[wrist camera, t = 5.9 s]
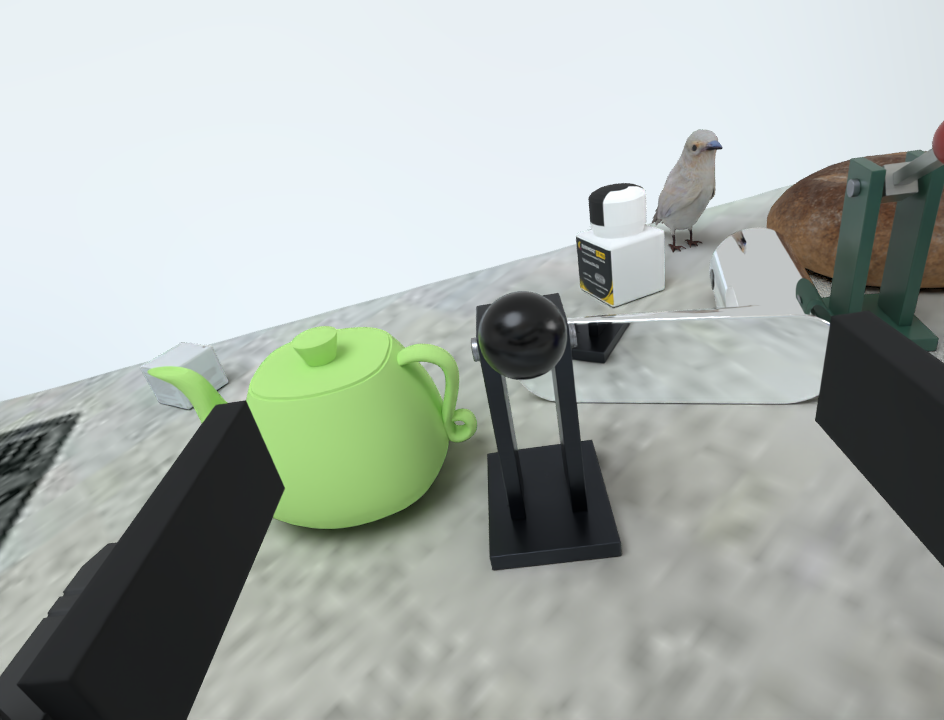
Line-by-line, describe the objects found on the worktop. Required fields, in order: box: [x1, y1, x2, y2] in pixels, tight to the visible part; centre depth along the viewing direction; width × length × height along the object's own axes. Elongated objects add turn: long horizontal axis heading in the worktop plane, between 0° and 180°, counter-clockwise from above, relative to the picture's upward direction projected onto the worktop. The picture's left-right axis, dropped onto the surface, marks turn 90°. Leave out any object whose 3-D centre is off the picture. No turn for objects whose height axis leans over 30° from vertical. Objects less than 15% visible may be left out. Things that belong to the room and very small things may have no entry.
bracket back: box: [822, 150, 944, 351], centre depth 48 cm, size 9×7×15 cm
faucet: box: [519, 228, 831, 404], centre depth 53 cm, size 25×8×19 cm
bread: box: [767, 151, 944, 288], centre depth 61 cm, size 26×27×10 cm
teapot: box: [148, 326, 477, 529], centre depth 42 cm, size 22×15×13 cm
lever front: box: [478, 291, 567, 380], centre depth 28 cm, size 13×4×4 cm, turn 179°
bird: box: [652, 130, 722, 252], centre depth 71 cm, size 5×14×15 cm, turn 16°
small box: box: [140, 342, 228, 409], centre depth 62 cm, size 6×6×5 cm
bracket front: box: [471, 293, 622, 570], centre depth 36 cm, size 10×8×15 cm
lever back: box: [881, 121, 944, 203], centre depth 40 cm, size 13×4×4 cm, turn 169°
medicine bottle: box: [576, 183, 665, 307], centre depth 64 cm, size 7×7×12 cm
